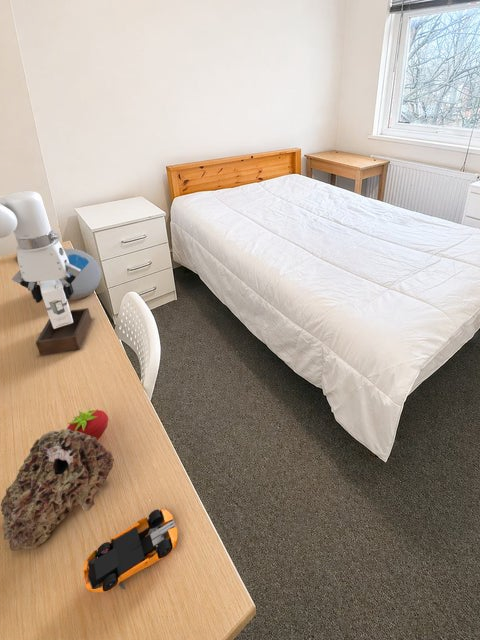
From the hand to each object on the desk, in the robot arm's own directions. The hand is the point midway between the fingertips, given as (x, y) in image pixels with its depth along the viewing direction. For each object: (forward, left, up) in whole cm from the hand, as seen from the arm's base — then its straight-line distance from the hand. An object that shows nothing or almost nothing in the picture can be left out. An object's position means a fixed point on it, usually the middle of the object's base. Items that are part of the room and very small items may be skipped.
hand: (55, 297), depth 97 cm
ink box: (0, 0, -7) cm, 7 cm away
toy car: (+26, -61, -10) cm, 67 cm away
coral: (+7, -46, -3) cm, 47 cm away
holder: (0, 0, -14) cm, 14 cm away
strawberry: (+15, -38, -14) cm, 44 cm away
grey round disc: (-5, +26, -7) cm, 27 cm away
